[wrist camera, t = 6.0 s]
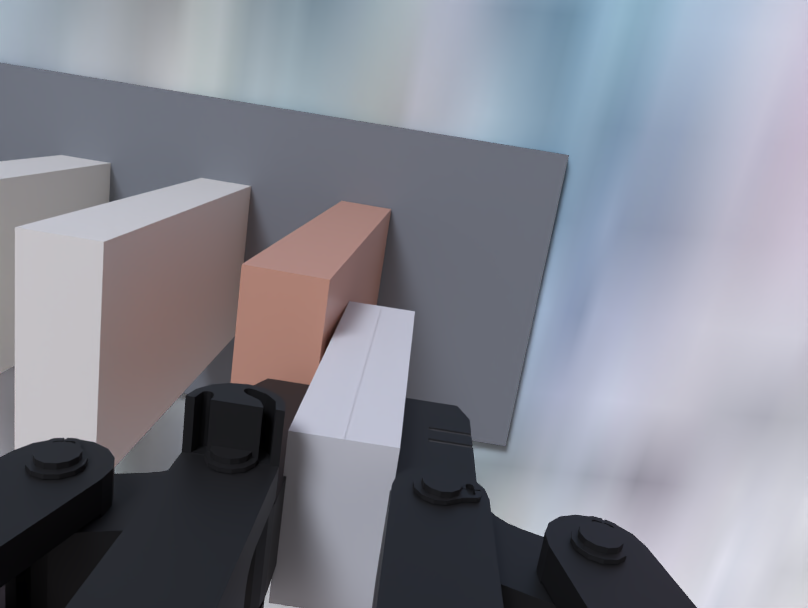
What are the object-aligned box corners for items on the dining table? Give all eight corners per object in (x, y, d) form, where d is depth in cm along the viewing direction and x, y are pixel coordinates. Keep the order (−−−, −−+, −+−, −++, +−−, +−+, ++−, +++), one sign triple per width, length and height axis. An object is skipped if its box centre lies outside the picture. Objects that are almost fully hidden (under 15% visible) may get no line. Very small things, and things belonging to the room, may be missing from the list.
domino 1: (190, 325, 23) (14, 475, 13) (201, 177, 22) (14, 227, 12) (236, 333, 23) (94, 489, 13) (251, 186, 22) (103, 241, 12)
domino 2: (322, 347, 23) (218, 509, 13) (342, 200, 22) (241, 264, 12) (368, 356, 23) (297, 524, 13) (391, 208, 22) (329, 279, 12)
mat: (-336, 304, 24) (-345, 306, 24) (-380, 0, 21) (-391, -1, 21) (504, 442, 24) (505, 446, 24) (566, 154, 21) (568, 155, 21)
